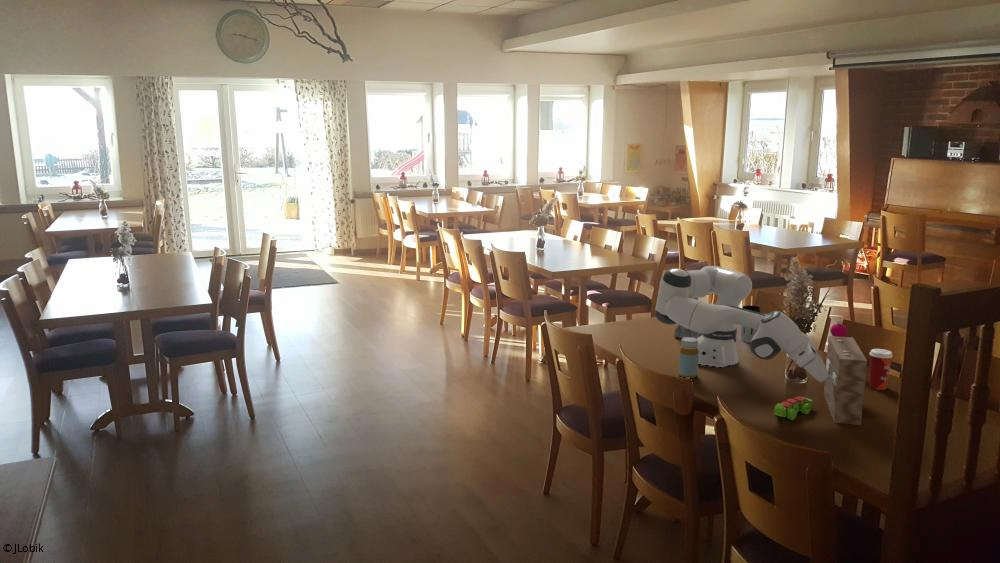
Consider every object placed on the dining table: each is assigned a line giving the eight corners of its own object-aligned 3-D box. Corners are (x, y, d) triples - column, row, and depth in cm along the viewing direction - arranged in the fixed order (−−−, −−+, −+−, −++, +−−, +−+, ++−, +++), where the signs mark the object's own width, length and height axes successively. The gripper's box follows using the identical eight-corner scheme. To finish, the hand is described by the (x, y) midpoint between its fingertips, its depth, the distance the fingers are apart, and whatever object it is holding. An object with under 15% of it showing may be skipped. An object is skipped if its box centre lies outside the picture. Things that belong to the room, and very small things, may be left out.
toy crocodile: (801, 404, 255) (802, 388, 254) (818, 410, 250) (819, 394, 248) (765, 418, 244) (766, 401, 243) (783, 424, 239) (784, 407, 238)
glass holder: (761, 338, 331) (763, 306, 328) (753, 346, 320) (755, 313, 316) (742, 335, 336) (743, 304, 333) (733, 343, 324) (735, 311, 321)
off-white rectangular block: (834, 386, 240) (835, 376, 240) (832, 380, 245) (833, 371, 245) (854, 387, 239) (855, 378, 238) (851, 382, 244) (852, 373, 243)
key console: (834, 422, 240) (839, 357, 235) (823, 394, 264) (828, 335, 259) (860, 424, 237) (867, 359, 233) (847, 396, 262) (853, 336, 257)
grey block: (828, 372, 254) (828, 363, 253) (826, 367, 258) (826, 358, 258) (846, 373, 252) (847, 364, 251) (844, 368, 257) (845, 360, 256)
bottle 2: (687, 380, 280) (688, 343, 277) (675, 374, 286) (676, 338, 283) (701, 377, 283) (702, 340, 280) (688, 371, 289) (690, 335, 286)
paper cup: (888, 392, 264) (892, 355, 261) (865, 388, 268) (868, 352, 265) (890, 385, 271) (894, 350, 268) (867, 382, 275) (870, 346, 272)
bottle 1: (705, 341, 329) (708, 280, 323) (677, 341, 329) (679, 281, 323) (698, 333, 341) (701, 274, 335) (671, 333, 341) (673, 275, 335)
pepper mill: (847, 372, 286) (851, 323, 281) (827, 371, 287) (831, 322, 283) (842, 366, 293) (847, 318, 288) (823, 365, 294) (827, 317, 290)
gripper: (792, 347, 254) (820, 376, 253) (797, 366, 235) (828, 397, 234) (806, 335, 252) (835, 365, 251) (813, 353, 233) (844, 385, 232)
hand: (831, 380), depth 243 cm, fingers closed, pressing on off-white rectangular block
